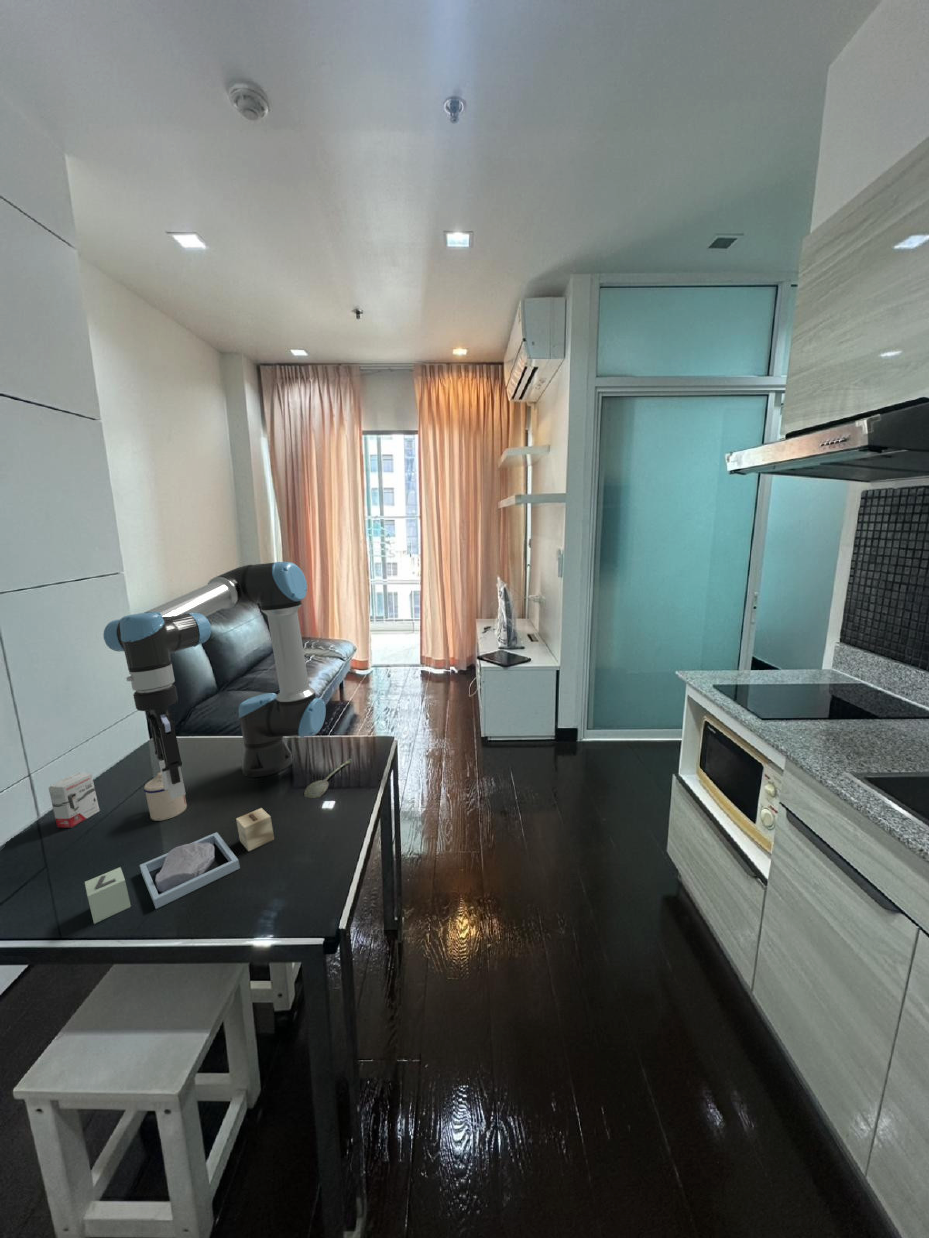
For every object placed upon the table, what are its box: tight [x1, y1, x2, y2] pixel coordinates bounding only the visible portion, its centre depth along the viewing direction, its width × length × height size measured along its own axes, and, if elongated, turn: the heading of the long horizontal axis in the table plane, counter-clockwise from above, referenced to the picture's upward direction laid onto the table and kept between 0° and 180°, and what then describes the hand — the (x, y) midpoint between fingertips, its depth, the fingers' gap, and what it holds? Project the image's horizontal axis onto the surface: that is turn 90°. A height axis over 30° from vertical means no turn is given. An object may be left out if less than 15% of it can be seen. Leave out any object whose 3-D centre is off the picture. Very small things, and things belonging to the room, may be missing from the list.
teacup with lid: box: [143, 771, 188, 822], centre depth 134 cm, size 12×9×12 cm
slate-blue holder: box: [139, 831, 241, 910], centre depth 108 cm, size 16×16×2 cm
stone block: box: [154, 842, 216, 894], centre depth 108 cm, size 12×5×10 cm
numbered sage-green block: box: [84, 866, 132, 925], centre depth 98 cm, size 6×6×6 cm
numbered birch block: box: [235, 807, 275, 852], centre depth 117 cm, size 6×6×6 cm
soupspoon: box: [303, 758, 353, 799], centre depth 145 cm, size 22×3×7 cm
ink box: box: [48, 772, 101, 829], centre depth 134 cm, size 9×5×12 cm, turn 168°
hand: (174, 791), depth 105 cm, fingers open, 5 cm apart
